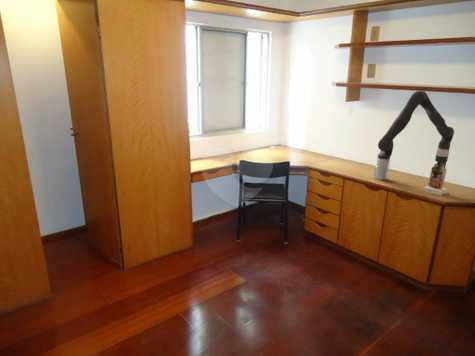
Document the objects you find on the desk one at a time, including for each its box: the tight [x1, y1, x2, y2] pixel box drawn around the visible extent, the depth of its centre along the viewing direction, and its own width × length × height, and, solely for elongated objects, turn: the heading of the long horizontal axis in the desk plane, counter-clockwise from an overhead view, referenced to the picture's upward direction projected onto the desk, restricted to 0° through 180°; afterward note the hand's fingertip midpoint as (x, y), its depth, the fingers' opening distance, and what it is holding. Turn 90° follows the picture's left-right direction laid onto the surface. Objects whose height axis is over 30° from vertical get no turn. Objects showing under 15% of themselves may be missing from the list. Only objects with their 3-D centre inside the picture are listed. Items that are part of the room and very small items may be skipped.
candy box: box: [427, 166, 447, 190], centre depth 248 cm, size 9×4×15 cm, turn 35°
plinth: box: [422, 185, 447, 196], centre depth 250 cm, size 12×10×3 cm
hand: (437, 176), depth 247 cm, fingers open, 8 cm apart
